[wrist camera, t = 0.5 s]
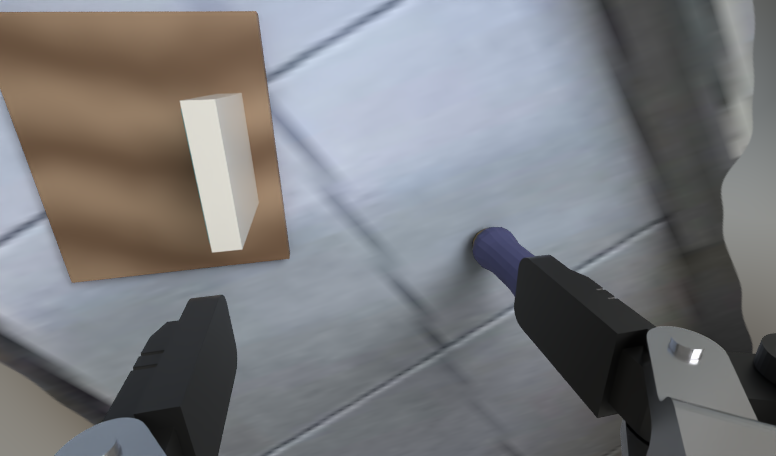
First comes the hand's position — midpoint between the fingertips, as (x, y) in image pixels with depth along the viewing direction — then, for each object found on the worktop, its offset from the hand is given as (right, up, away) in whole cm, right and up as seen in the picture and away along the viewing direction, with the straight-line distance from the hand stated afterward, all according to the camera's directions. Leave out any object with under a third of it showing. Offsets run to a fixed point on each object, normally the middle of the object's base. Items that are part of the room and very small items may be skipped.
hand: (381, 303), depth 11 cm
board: (-16, +8, +18) cm, 25 cm away
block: (-11, +8, +18) cm, 22 cm away
